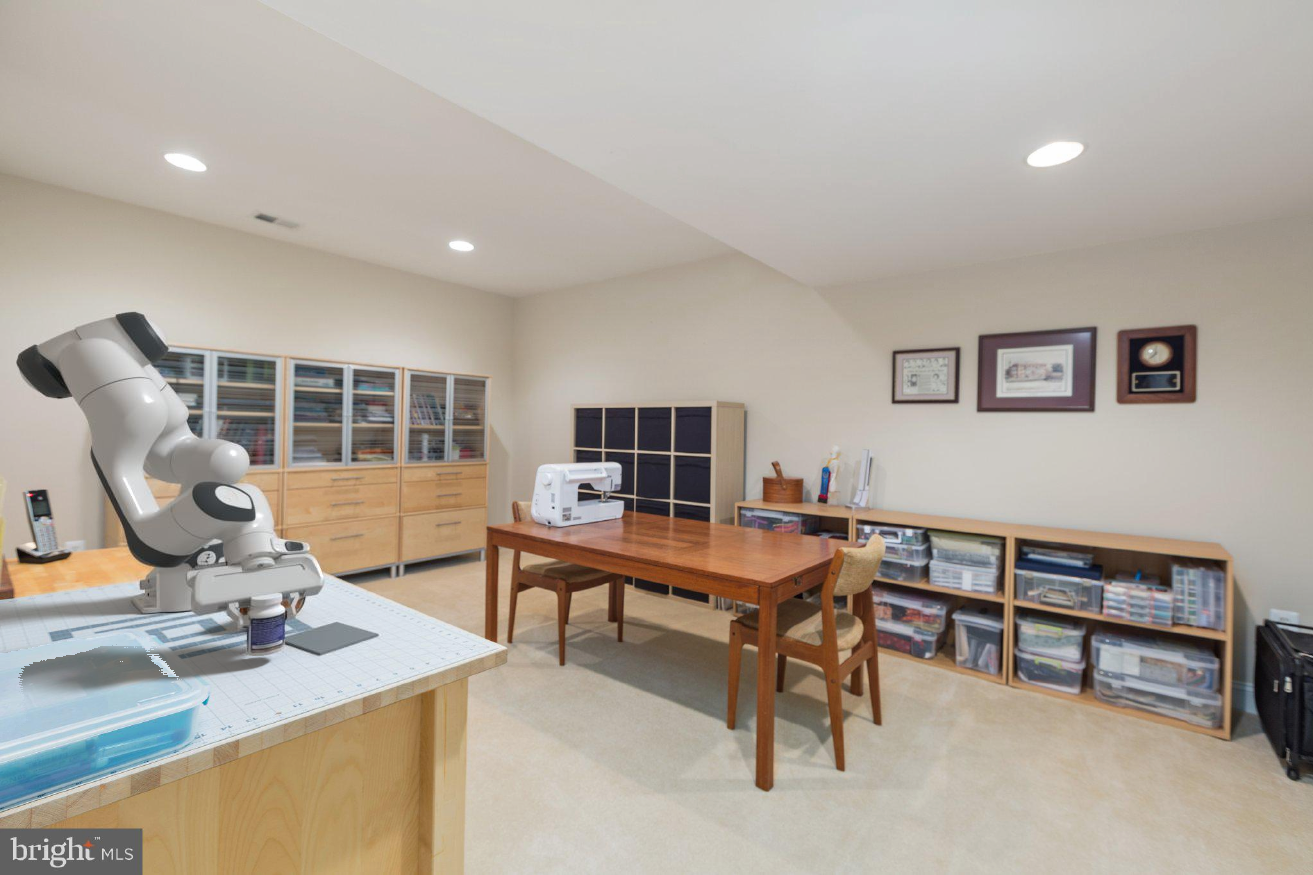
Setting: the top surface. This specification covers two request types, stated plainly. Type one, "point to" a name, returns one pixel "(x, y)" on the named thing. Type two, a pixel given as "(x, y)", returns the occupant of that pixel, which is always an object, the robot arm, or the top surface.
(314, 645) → the mat
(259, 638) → the pill bottle
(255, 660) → the top surface
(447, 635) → the top surface
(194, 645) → the top surface
